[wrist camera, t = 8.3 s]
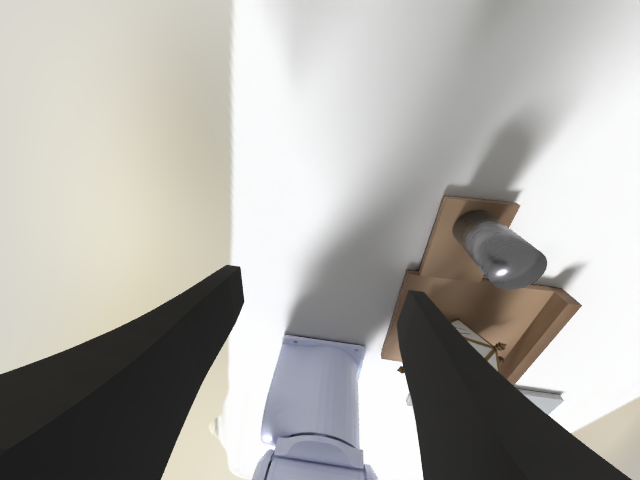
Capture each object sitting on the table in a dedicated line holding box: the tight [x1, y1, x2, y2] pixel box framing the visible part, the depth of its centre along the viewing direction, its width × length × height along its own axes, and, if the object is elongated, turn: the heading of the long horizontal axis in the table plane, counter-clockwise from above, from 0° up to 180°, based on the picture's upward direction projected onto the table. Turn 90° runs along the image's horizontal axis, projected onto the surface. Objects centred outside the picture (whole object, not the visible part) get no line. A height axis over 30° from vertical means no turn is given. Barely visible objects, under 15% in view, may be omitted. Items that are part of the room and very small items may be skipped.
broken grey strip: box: [406, 389, 564, 415], centre depth 29 cm, size 16×6×1 cm, turn 86°
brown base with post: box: [381, 196, 582, 386], centre depth 19 cm, size 13×19×6 cm
